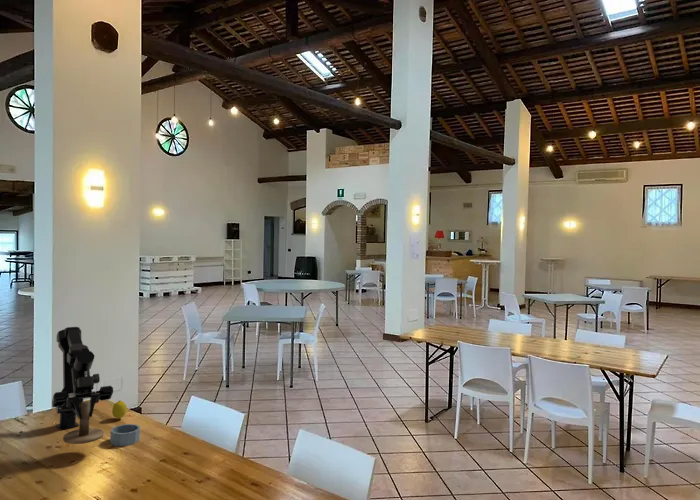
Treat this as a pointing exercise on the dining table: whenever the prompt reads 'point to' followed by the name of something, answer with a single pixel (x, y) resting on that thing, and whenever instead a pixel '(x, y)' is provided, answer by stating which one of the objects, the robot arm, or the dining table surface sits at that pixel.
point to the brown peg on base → (83, 429)
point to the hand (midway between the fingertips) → (85, 417)
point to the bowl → (125, 435)
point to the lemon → (119, 409)
